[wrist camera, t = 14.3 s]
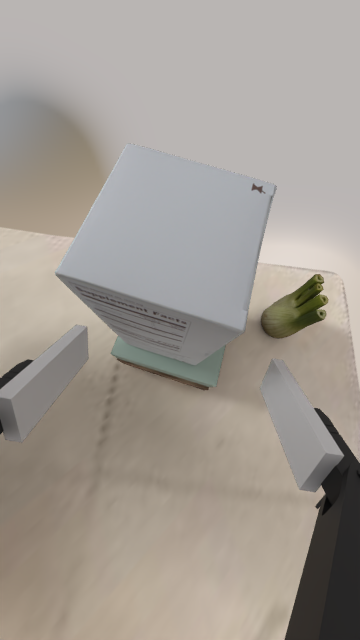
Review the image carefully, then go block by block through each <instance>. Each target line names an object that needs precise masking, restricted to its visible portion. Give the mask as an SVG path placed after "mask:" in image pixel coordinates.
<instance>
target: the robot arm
mask: <svg viewBox="0 0 360 640" xmlns="http://www.w3.org/2000/svg"><path fill="white" fill-rule="evenodd" d="M87 360H88V334H87V326H81V325H75V326H74V327H73V328H72V329H71V330H70V331H68V332H67V333H66V334H65V335H64V336H62V337H61V338H60V339H59V340H58V341H57V342H55V343H54V344H53V345H52V346H51V347H50V348H48V349H47V350H46V351H45V352H44V353H42V354H41V355H40V356H39V357H38V358H37V359H35V360H26V361H24V362H22V363H19V364H17V365H16V366H15V367H14V368H12V369H11V370H10V371H9V372H7V373H6V374H5V375H3V376H2V378H0V434H1V433H2V432H3V433H4V436H5V439H6V440H10V441H16V442H23V441H24V439H25V438H26V437H27V436H28V434H29V433H30V432H31V430H32V429H33V428H34V427H35V425H36V424H37V423H38V422H39V420H40V419H41V418H42V417H43V415H44V414H45V413H46V412H47V410H48V409H49V408H50V407H51V405H52V404H53V403H54V402H55V400H56V399H57V398H58V396H59V395H60V394H61V393H62V391H63V390H64V389H65V388H66V386H67V385H68V384H69V383H70V381H71V380H72V379H73V378H74V376H75V375H76V374H77V373H78V371H79V370H80V369H81V367H82V366H83V365H84V364H85V362H86V361H87ZM260 390H261V393H262V395H263V398H264V400H265V403H266V405H267V408H268V410H269V413H270V416H271V418H272V421H273V423H274V426H275V428H276V431H277V434H278V436H279V439H280V441H281V444H282V446H283V449H284V452H285V454H286V457H287V459H288V462H289V464H290V467H291V469H292V472H293V475H294V477H295V480H296V482H297V485H298V487H299V490H305V491H311V492H316V491H317V490H318V488H319V487H320V486H321V485H322V487H323V489H324V491H325V493H326V494H325V495H324V496H323V498H322V499H321V500H320V501H319V502H318V504H317V505H316V506H315V507H316V508H317V509H318V508H319V507H320V509H319V513H318V517H317V520H316V524H315V528H314V532H313V535H312V539H311V543H310V547H309V550H308V554H307V558H306V562H305V565H304V569H303V573H302V577H301V580H300V584H299V588H298V591H297V595H296V599H295V603H294V606H293V610H292V614H291V618H290V621H289V625H288V629H287V633H286V636H285V640H360V463H359V462H358V460H357V459H356V457H355V456H354V454H353V453H352V452H351V450H350V449H349V447H348V446H347V444H346V443H345V441H344V440H343V438H342V437H341V435H339V433H338V431H337V430H336V428H335V427H334V425H333V424H332V422H331V421H330V419H329V418H328V417H327V416H326V415H325V414H324V413H323V412H322V411H321V410H320V409H318V408H313V406H312V405H311V403H310V402H309V400H308V399H307V397H306V395H305V394H304V392H303V391H302V389H301V388H300V386H299V384H298V383H297V381H296V380H295V378H294V377H293V375H292V373H291V372H290V370H289V369H288V367H287V366H286V364H285V363H284V361H283V360H278V359H272V360H271V363H270V365H269V368H268V370H267V372H266V375H265V377H264V379H263V382H262V384H261V386H260Z"/></svg>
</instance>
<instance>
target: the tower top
mask: <svg viewBox="0 0 360 640" xmlns="http://www.w3.org/2000/svg"><path fill="white" fill-rule="evenodd" d="M225 346H226V345H224V346H223V347H221V348H220V349H219V350H217V351H216V352H214V353H213V354H211V355H210V356H208V357H207V358H206V359H204V360H203V361H201V362H200V363H198V364H197V365H195V366H194V365H191V364H188V363H185V362H181V361H178V360H175V359H172V358H169V357H166V356H162V355H159V354H156V353H153V352H150V351H147V350H143V349H140V348H137V347H134V346H131V345H129V344H127V343H125V342H124V341H123V340H122V339H121V338H120V337H119V336H118V337H117V340H116V342H115V344H114V347H113V349H112V352H111V354H112V355H113V356H115V357H116V358H118V359H121V360H124V361H127V362H130V363H134V364H137V365H140V366H143V367H146V368H150V369H153V370H156V371H159V372H163V373H166V374H169V375H172V376H175V377H179V378H182V379H185V380H188V381H191V382H195V383H198V384H201V385H204V386H207V387H216V385H217V381H218V376H219V372H220V368H221V363H222V359H223V354H224V350H225Z"/></svg>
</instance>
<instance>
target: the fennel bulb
mask: <svg viewBox="0 0 360 640" xmlns="http://www.w3.org/2000/svg"><path fill="white" fill-rule="evenodd" d="M323 279H324V278H323V277H322V276H321V275H320V274H315V275H314V276H313V277H312V278H311V279H310V280H308V281H307V282H306V283H305V284H304V285H303V286H301V287H300V288H299V289H297V290H296V291H295V292H293V293H291V294H289V295H286V296H284V297H283V298H281V299H280V300H278V301H277V302H275V303H274V304H272V305H271V306H270V307H268V308H267V309H265V311H264V312H263V313H262V316H261V323H262V327H263V329H264V330H265V332H266V333H267V334H268V335H270V336H271V337H274V338H284V337H287V336H290V335H292V334H294V333H296V332H298V331H300V330H301V329H303V328H305V327H307V326H309V325H311V324H314V323H316V322H319V321H322V320H324V319H325V316H326V311H325V310H317V309H319V308H321V307H322V306H324V305H326V304H327V303H328V298H327V296H324V295H320V294H319V293H320V292H321V291H322V290H323V286H322V285H321V284H322V283H324V280H323ZM318 294H319V295H318ZM316 295H317V296H316ZM315 296H316V297H315ZM314 297H315V298H314Z"/></svg>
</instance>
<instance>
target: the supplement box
mask: <svg viewBox="0 0 360 640" xmlns="http://www.w3.org/2000/svg"><path fill="white" fill-rule="evenodd" d="M276 187H277V186H276V185H274V184H272V183H269V182H265V181H262V180H259V179H255V178H251V177H248V176H245V175H242V174H237V173H234V172H231V171H227V170H224V169H220V168H216V167H212V166H209V165H206V164H202V163H199V162H195V161H192V160H188V159H185V158H181V157H178V156H174V155H171V154H167V153H164V152H161V151H157V150H154V149H151V148H147V147H143V146H139V145H135V144H130V143H128V144H127V145H126V146H125V148H124V150H123V152H122V154H121V156H120V158H119V159H118V161H117V163H116V165H115V167H114V168H113V171H112V172H111V174H110V176H109V177H108V179H107V181H106V183H105V185H104V187H103V189H102V190H101V192H100V194H99V195H98V197H97V199H96V201H95V202H94V204H93V206H92V208H91V209H90V212H89V213H88V215H87V217H86V219H85V221H84V222H83V224H82V226H81V228H80V229H79V231H78V233H77V235H76V237H75V239H74V240H73V242H72V244H71V246H70V247H69V249H68V251H67V252H66V254H65V256H64V258H63V259H62V261H61V263H60V265H59V266H58V268H57V270H56V271H55V275H56V276H57V277H58V278H59V279H60V280H61V281H62V282H63V283H64V284H65V285H66V286H67V287H68V288H69V289H70V290H71V291H72V292H73V293H75V294H76V295H77V296H78V297H79V298H80V299H81V300H82V301H83V302H84V303H85V304H86V305H87V306H88V307H89V308H90V309H91V310H92V311H93V312H94V313H95V314H96V315H97V316H98V317H99V318H100V319H101V320H103V321H104V322H105V323H106V324H107V325H108V326H109V327H110V328H111V329H112V330H113V331H114V332H115V333H116V334H117V335H118V336H119V337H120V338H121V339H122V340H123V341H124V342H125V343H127V344H129V345H131V346H134V347H137V348H140V349H143V350H147V351H150V352H153V353H156V354H159V355H162V356H166V357H169V358H172V359H175V360H178V361H181V362H185V363H188V364H191V365H194V366H195V365H197V364H198V363H200V362H201V361H203V360H204V359H206V358H207V357H208V356H210V355H211V354H213V353H214V352H216V351H217V350H219V349H220V348H221V347H223V346H224V345H226V344H227V343H229V342H231V341H232V340H234V339H235V338H236V337H238V336H239V335H241V334H242V333H244V331H245V327H246V321H247V315H248V309H249V304H250V299H251V294H252V289H253V284H254V279H255V274H256V268H257V263H258V259H259V254H260V249H261V245H262V241H263V236H264V232H265V228H266V224H267V220H268V216H269V212H270V208H271V204H272V201H273V197H274V194H275V191H276Z"/></svg>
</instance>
